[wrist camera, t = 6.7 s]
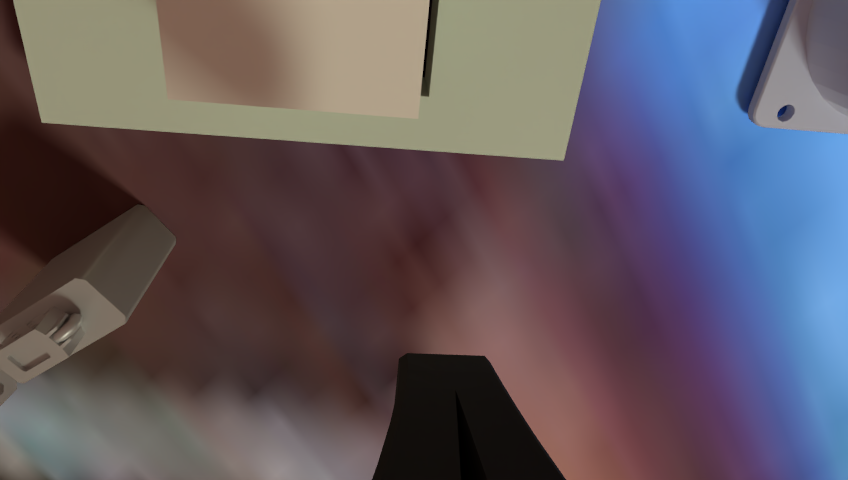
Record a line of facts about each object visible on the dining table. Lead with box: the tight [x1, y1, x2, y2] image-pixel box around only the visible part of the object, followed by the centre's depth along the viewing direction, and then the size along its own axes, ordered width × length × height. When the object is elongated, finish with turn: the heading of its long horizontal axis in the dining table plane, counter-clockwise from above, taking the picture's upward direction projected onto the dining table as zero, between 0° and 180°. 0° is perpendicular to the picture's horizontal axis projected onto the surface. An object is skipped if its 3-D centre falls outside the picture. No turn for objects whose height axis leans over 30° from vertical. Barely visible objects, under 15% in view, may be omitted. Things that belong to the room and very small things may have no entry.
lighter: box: [0, 204, 176, 406], centre depth 16 cm, size 7×2×8 cm, turn 121°
